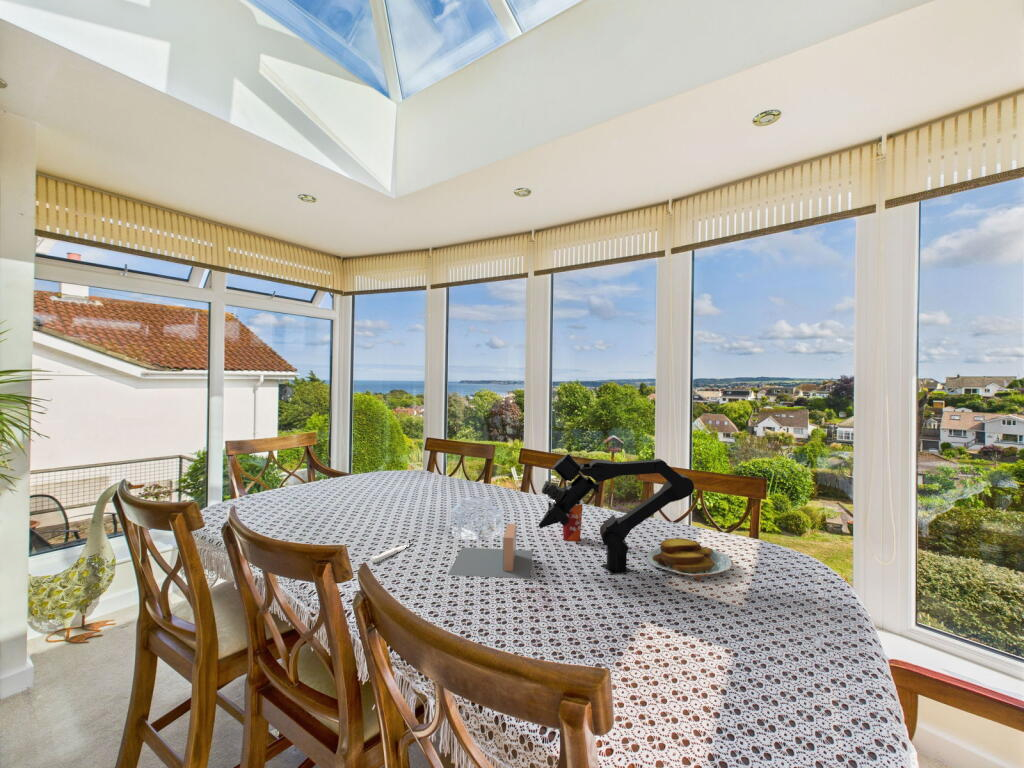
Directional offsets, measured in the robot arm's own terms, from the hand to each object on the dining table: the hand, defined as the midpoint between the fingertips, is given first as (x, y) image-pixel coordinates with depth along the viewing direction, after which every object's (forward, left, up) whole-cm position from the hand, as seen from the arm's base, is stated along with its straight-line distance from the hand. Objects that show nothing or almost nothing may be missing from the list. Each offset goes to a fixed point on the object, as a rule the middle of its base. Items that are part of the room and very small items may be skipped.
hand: (539, 526), depth 140 cm
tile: (+3, +8, -12) cm, 15 cm away
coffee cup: (+19, -20, -12) cm, 30 cm away
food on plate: (-12, -46, -13) cm, 49 cm away
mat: (+5, +13, -12) cm, 19 cm away
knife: (+29, +41, -13) cm, 52 cm away
